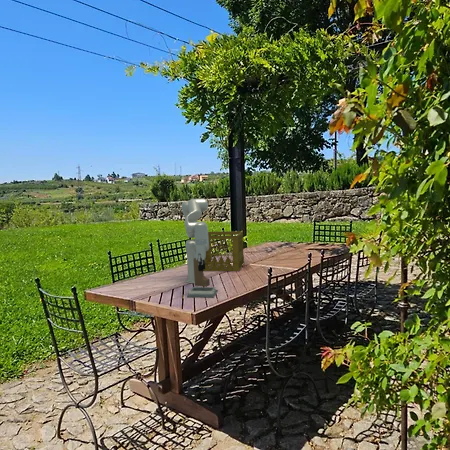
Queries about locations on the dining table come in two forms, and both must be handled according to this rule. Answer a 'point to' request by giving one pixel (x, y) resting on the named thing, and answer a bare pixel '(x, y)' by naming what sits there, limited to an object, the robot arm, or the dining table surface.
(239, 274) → the dining table surface
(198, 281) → the wooden block
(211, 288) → the end cap
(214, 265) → the milk crate
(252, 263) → the dining table surface
